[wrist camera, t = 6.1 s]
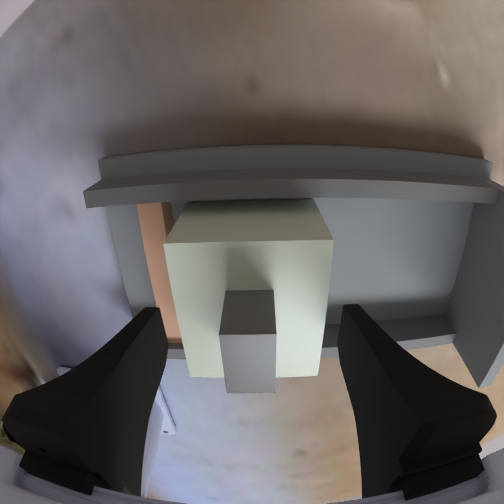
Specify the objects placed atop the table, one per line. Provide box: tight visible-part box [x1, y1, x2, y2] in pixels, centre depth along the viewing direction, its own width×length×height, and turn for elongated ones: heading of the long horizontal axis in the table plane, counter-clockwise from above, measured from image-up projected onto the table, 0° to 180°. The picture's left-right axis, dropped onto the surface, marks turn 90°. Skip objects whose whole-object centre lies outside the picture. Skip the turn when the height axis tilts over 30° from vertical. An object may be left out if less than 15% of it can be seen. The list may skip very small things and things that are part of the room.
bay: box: [83, 145, 504, 388], centre depth 15 cm, size 21×12×7 cm, turn 92°
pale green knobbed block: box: [163, 200, 334, 393], centre depth 14 cm, size 6×7×7 cm
